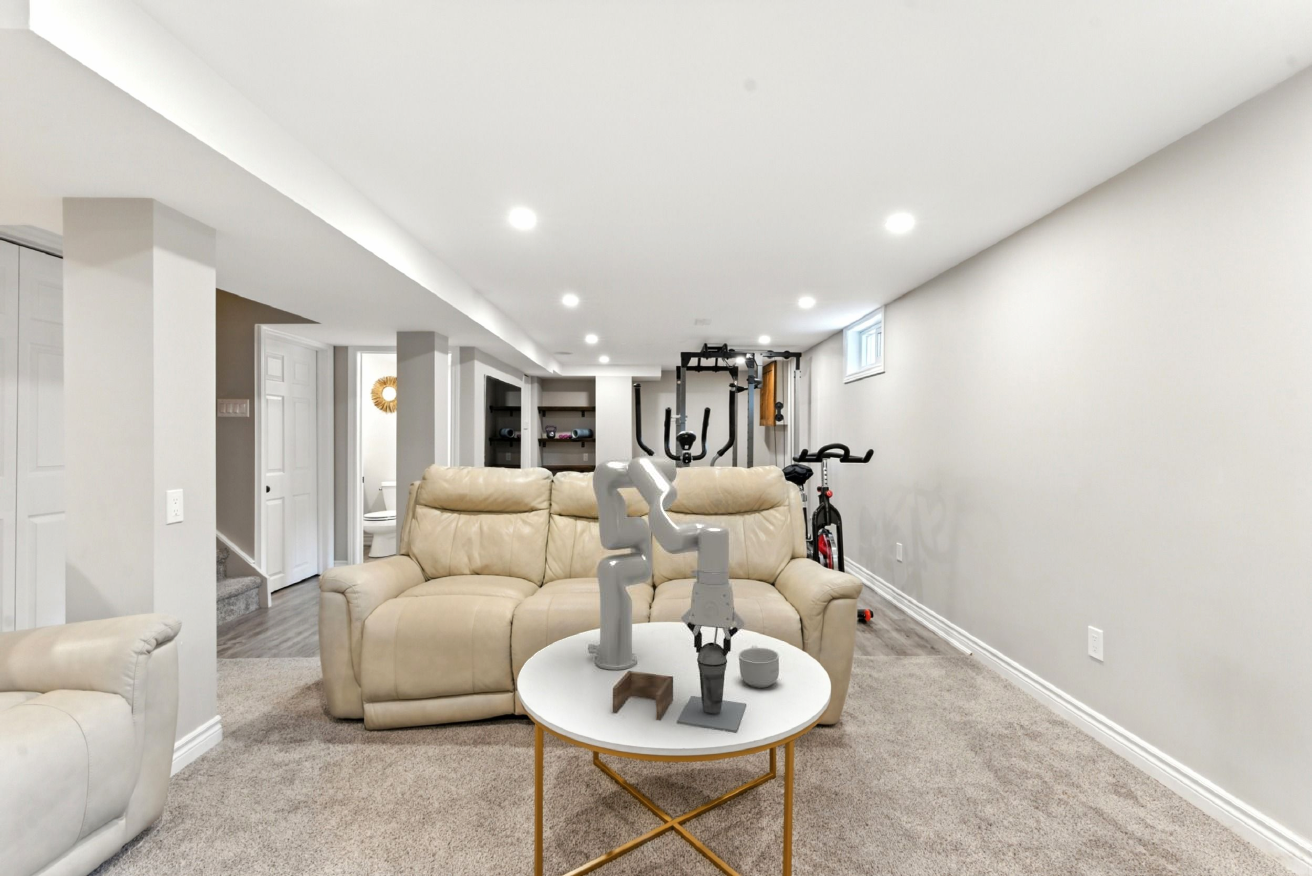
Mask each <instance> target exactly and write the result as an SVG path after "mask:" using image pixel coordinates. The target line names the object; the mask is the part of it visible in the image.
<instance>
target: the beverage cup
mask: <svg viewBox="0 0 1312 876" xmlns="http://www.w3.org/2000/svg"><path fill="white" fill-rule="evenodd" d="M718 630H719V628H715V631H714V639H713V642H712V641H711V642H707V643H705V644H704V645H703V644H702V648H701V649H700V652H699V653H698V654H697V659H696V662H697V667H698V670H699V671H698V672H699V684H700V693H701V694H700V697H701V698H702V706H703V710H704V711H706V712H709V713H717V712H719V711H721V707H722V700H724V699H723V698H724V697H723V696H724V686H725V674H726V673H725V672H726V670H727V663H728V660H727V659H728V658H727V656H724V655H723V647H722V646H721V645H720V644H718V643H717V637H718Z"/></svg>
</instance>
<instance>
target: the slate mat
mask: <svg viewBox="0 0 1312 876" xmlns="http://www.w3.org/2000/svg"><path fill="white" fill-rule="evenodd" d="M746 707H747V703H745V702H738V701H731V700H725V699H722V707H721V711H719V712H717V713H709V712H706V711H704V710H703V706H702V698H701V696H696V695H691V696H690V697H689V699H688V701H687V702H686V704H685V705H684V708H683V710H682V712H681V713H680V715H679V716H678V718H677V720H676V724H680V725H685V726H693V727H697V728H698V727H699V728H704V729H705V728H706V729H710V728H711V730H717V729H718V731H723V730H725V732H729V733H736V732H737V733H738V731H739V727H740V724H741V721H742V719H743V716H744V713H745V711H746ZM737 730H738V731H737Z"/></svg>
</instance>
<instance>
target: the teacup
mask: <svg viewBox="0 0 1312 876" xmlns="http://www.w3.org/2000/svg"><path fill="white" fill-rule="evenodd" d="M779 658H780V654H779V653H778V652H777V650H774V649H771V648H768V647H767V648H766V647H758V646H757V645H751V647H749V648H745V649H742V650H741V651H739V652H738V661H739V672H740V676H741V679H742V680H743V681H744V682H745V683H746V684H747V685H749V686H751V687H754V688H759V689H760V688H768V687H770V686H772V685H773V684H774V683H775V682H776V681H777V680H778V678H779V676H780V675H779V674H780V662H779V660H780V659H779Z"/></svg>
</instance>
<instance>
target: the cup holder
mask: <svg viewBox="0 0 1312 876" xmlns="http://www.w3.org/2000/svg"><path fill="white" fill-rule="evenodd" d="M631 697H636V698H641V699H648V700H655V703H656V704H655V705H656V706H655V709H656V710H655V711H656V712H655V720H656V721H661V720H662V719H663V717H664V716H665V714H666V712H667V710H669V707H671V705H672V703H673V702H674V676H671V675H663V674H657V673H649V672H642V671H641V672H640V671H633V670H628V671H627V672H626V673H625V674H624V675H623V676H622V677H621V678H620V680H618V681H617V682H616V684H615V685H613V687H612V714H618V713H619V711H620V710H621V709H622V708H623V706H624V705H625V704H626V702H628V700H629V699H630V698H631Z"/></svg>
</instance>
